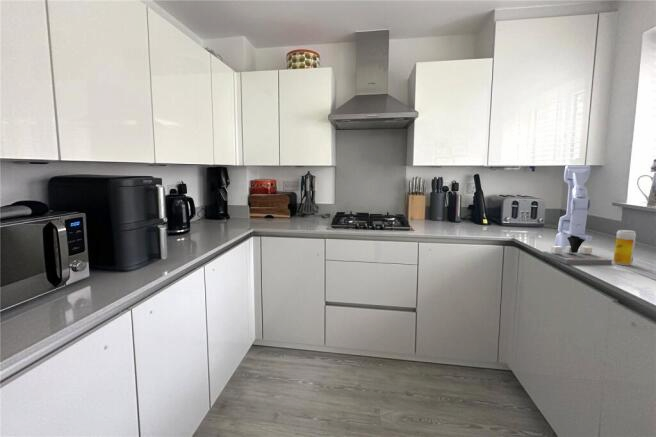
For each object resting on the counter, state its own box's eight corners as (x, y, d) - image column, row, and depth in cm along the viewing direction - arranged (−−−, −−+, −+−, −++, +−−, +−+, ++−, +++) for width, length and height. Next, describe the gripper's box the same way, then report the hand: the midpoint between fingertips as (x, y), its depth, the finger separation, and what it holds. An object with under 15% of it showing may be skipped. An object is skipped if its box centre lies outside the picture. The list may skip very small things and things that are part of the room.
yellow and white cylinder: (614, 261, 141) (617, 229, 139) (632, 263, 137) (636, 230, 134) (612, 263, 137) (616, 231, 135) (631, 266, 133) (635, 232, 130)
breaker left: (550, 252, 147) (551, 246, 147) (558, 252, 147) (558, 246, 147) (554, 253, 145) (555, 247, 144) (562, 253, 145) (562, 247, 144)
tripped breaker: (564, 252, 147) (565, 246, 147) (572, 252, 147) (573, 246, 147) (568, 253, 145) (569, 247, 145) (576, 253, 145) (577, 247, 145)
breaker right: (579, 252, 147) (580, 246, 147) (587, 252, 147) (588, 246, 147) (583, 253, 145) (584, 247, 144) (591, 253, 145) (592, 247, 144)
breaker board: (542, 255, 151) (543, 251, 150) (583, 255, 151) (583, 251, 151) (566, 264, 136) (567, 259, 136) (611, 264, 136) (612, 260, 136)
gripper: (557, 221, 149) (554, 248, 151) (582, 226, 135) (578, 256, 137) (571, 221, 149) (568, 248, 151) (598, 226, 135) (594, 256, 137)
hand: (574, 252), depth 144 cm, fingers closed
